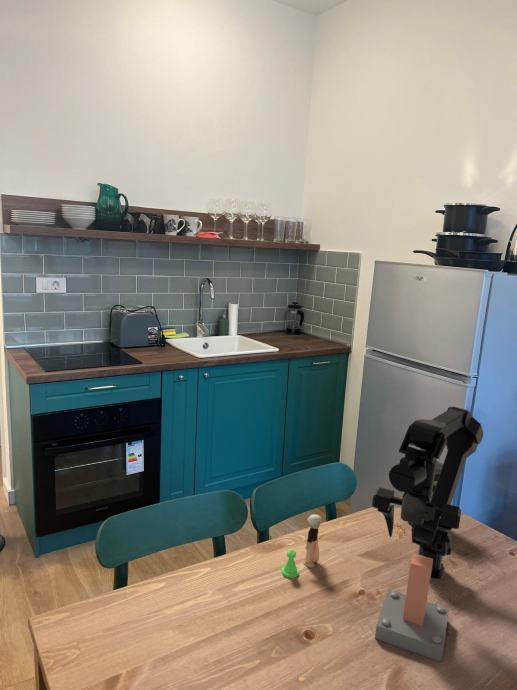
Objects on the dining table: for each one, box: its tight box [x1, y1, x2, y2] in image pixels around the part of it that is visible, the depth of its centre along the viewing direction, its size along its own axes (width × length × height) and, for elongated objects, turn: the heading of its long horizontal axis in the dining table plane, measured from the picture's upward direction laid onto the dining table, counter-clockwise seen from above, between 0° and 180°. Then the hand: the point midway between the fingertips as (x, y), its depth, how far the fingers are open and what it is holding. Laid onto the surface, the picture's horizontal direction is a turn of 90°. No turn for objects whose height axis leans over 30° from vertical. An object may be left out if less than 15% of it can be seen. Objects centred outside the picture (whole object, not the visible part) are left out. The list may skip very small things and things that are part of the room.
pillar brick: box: [403, 552, 433, 626], centre depth 111 cm, size 4×4×13 cm
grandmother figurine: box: [303, 514, 322, 569], centre depth 133 cm, size 8×4×13 cm, turn 168°
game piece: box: [280, 549, 300, 579], centre depth 128 cm, size 4×4×6 cm
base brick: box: [374, 589, 450, 662], centre depth 112 cm, size 13×13×4 cm
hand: (411, 541), depth 122 cm, fingers open, 9 cm apart
